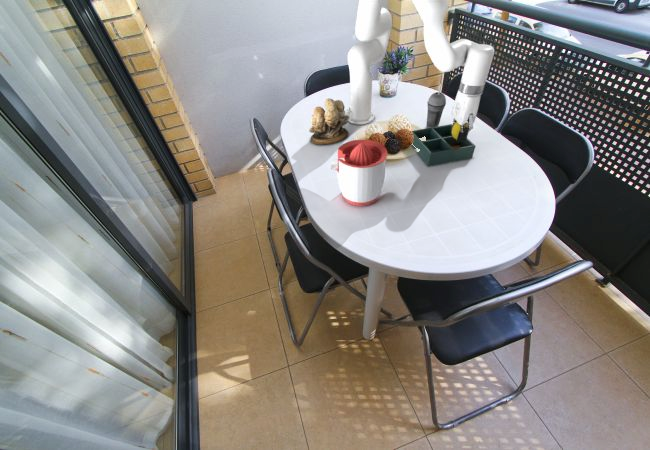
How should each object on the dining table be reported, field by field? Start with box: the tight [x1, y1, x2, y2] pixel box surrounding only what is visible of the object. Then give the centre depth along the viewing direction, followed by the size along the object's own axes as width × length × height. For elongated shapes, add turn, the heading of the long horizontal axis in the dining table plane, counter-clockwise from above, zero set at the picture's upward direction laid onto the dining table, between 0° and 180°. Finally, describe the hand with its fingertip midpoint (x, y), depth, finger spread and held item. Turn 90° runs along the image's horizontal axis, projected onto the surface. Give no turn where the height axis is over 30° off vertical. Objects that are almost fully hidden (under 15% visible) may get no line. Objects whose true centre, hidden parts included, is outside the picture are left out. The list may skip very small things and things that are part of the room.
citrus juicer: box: [330, 139, 389, 207], centre depth 101 cm, size 16×17×20 cm
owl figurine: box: [308, 98, 349, 146], centre depth 131 cm, size 18×12×17 cm, turn 116°
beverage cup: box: [426, 82, 447, 128], centre depth 129 cm, size 7×7×20 cm
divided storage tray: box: [410, 123, 476, 167], centre depth 122 cm, size 18×18×5 cm
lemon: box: [452, 121, 468, 140], centre depth 115 cm, size 6×6×8 cm
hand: (458, 136), depth 117 cm, fingers closed on lemon, 5 cm apart
